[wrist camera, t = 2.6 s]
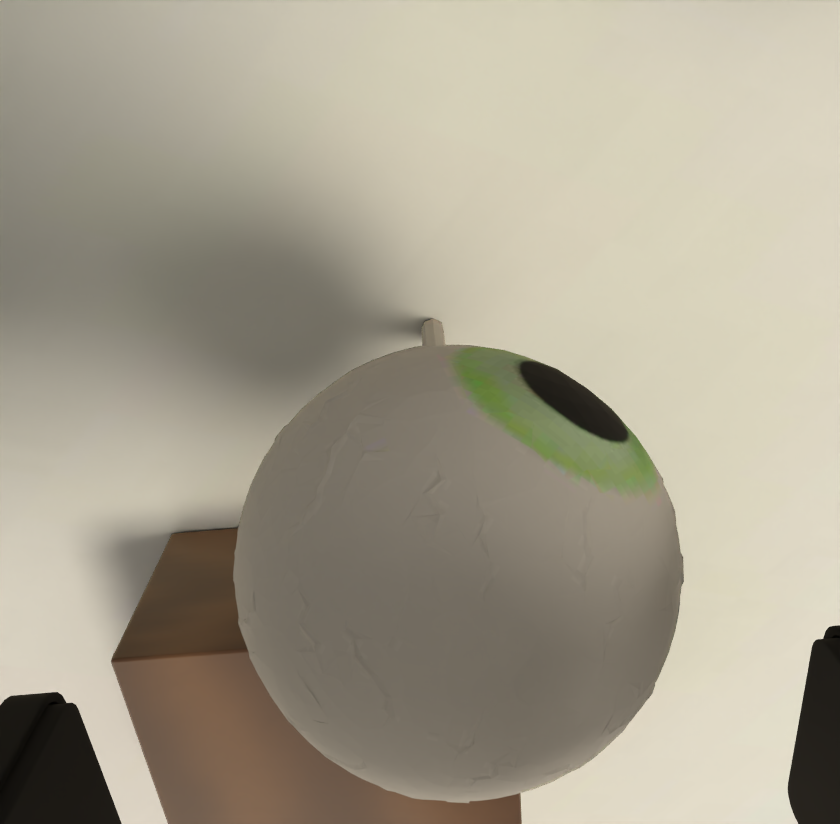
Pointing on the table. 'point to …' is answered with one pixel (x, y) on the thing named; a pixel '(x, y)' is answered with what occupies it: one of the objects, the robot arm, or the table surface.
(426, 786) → the lollipop
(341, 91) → the table surface
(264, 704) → the walnut block
